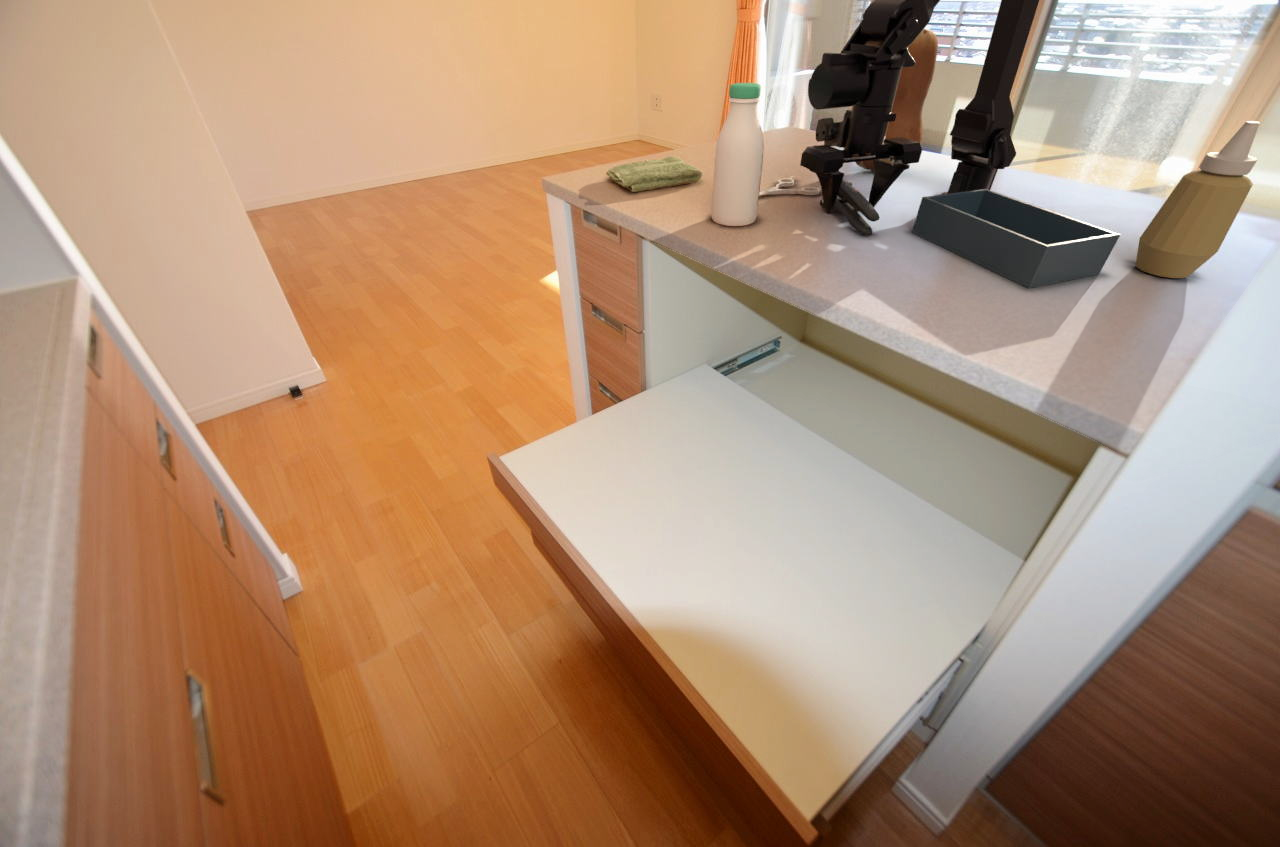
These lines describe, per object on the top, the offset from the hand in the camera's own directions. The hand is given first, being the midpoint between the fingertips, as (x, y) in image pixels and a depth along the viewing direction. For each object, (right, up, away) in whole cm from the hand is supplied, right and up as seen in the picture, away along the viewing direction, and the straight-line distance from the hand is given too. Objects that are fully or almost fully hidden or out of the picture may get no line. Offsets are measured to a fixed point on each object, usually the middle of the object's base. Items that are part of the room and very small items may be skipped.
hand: (849, 210), depth 91 cm
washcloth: (-33, +15, +22) cm, 42 cm away
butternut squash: (+15, +18, +24) cm, 34 cm away
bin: (+18, -11, -11) cm, 23 cm away
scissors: (-10, +8, +13) cm, 19 cm away
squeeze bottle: (+36, -15, -17) cm, 43 cm away
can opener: (0, -1, +1) cm, 2 cm away
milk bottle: (-19, -1, +2) cm, 19 cm away
